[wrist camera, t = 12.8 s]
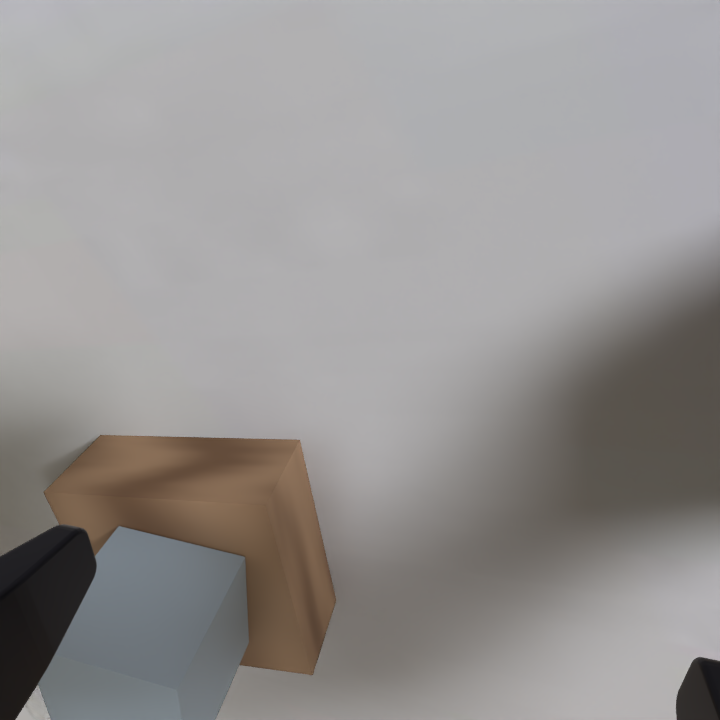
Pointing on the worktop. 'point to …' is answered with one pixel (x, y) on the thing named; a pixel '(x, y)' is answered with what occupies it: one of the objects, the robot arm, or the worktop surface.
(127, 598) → the slate cube
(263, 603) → the walnut block
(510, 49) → the worktop surface
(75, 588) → the robot arm
